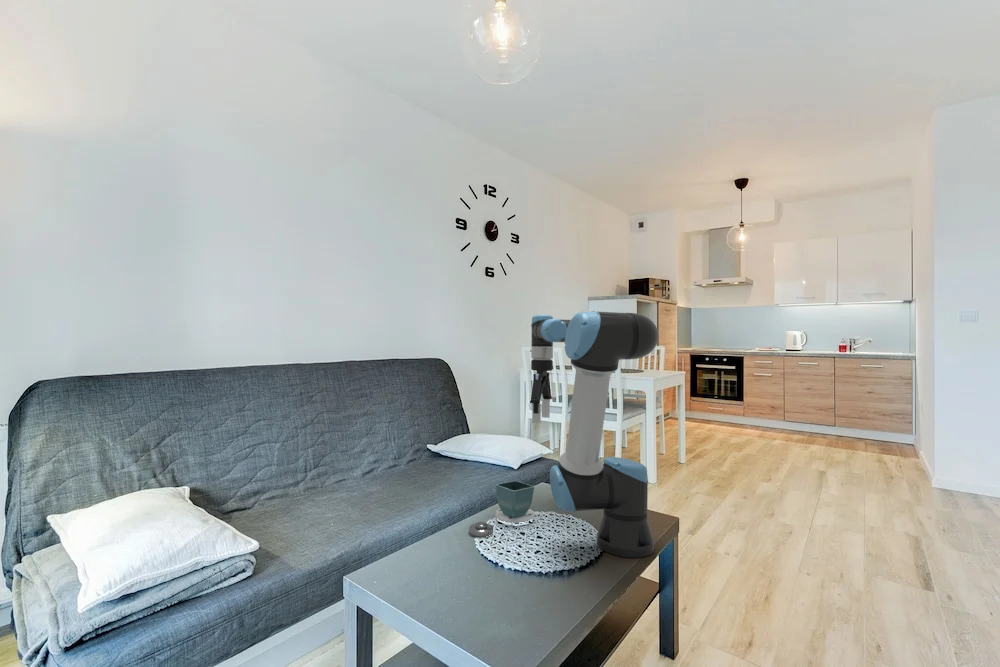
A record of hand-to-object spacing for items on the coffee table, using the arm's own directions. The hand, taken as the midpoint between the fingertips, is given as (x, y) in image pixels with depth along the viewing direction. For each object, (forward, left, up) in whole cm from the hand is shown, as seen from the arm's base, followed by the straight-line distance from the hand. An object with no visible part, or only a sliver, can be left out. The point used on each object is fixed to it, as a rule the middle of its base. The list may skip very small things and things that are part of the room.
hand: (541, 420), depth 160 cm
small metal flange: (+10, +31, -29) cm, 43 cm away
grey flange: (+4, +17, -29) cm, 34 cm away
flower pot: (+4, +19, -27) cm, 33 cm away
